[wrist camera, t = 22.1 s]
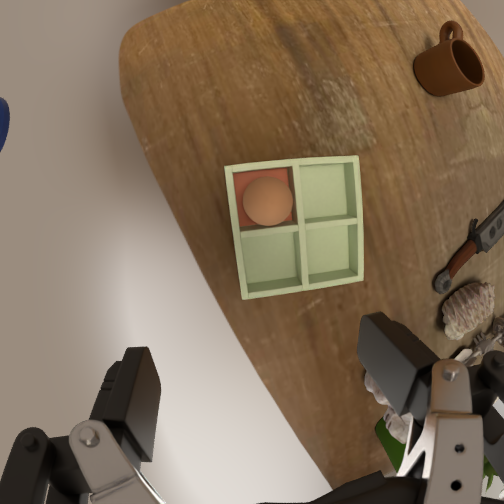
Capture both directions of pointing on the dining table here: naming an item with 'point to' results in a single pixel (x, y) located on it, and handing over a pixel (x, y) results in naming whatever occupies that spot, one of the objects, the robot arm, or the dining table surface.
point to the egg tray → (300, 227)
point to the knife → (473, 246)
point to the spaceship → (483, 344)
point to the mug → (449, 64)
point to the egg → (267, 201)
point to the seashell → (467, 309)
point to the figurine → (390, 413)
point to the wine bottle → (391, 445)
